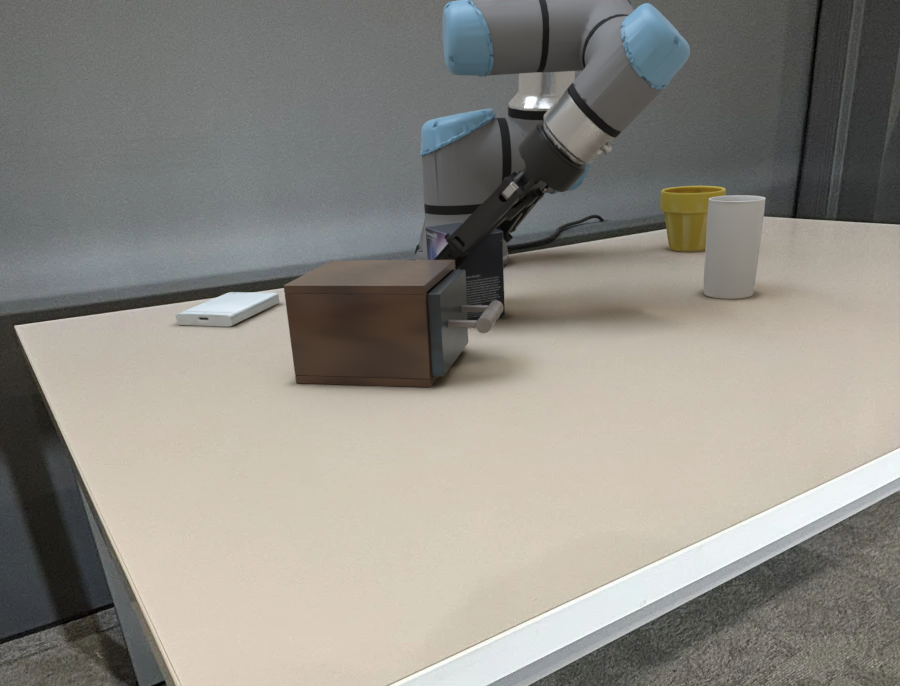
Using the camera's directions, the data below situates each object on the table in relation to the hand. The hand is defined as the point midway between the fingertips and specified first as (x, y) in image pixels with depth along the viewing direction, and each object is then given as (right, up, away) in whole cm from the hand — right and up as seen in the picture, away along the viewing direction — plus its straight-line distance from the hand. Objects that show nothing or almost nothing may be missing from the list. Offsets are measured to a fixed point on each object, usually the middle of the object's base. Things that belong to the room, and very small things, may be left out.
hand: (444, 277), depth 101 cm
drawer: (-3, -12, -20) cm, 24 cm away
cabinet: (-6, -13, -19) cm, 24 cm away
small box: (+3, -4, +1) cm, 5 cm away
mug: (+38, -1, +4) cm, 38 cm away
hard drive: (-29, -4, +6) cm, 29 cm away
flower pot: (+42, +12, +35) cm, 56 cm away
